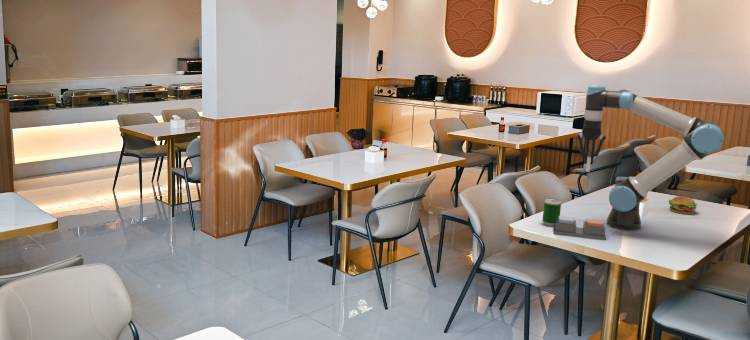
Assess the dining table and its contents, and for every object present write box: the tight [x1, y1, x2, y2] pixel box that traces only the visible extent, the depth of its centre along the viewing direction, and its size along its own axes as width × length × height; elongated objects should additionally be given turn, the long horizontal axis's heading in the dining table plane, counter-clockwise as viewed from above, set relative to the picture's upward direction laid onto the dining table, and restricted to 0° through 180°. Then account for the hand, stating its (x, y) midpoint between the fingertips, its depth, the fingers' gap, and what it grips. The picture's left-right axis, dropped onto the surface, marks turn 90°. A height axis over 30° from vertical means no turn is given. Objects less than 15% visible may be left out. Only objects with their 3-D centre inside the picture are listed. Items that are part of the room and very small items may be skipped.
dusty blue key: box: [558, 215, 575, 224], centre depth 296 cm, size 6×6×3 cm
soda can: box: [541, 197, 562, 227], centre depth 307 cm, size 8×8×12 cm
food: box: [668, 195, 698, 215], centre depth 346 cm, size 14×14×8 cm
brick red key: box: [585, 218, 603, 227], centre depth 293 cm, size 6×6×3 cm
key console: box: [552, 218, 607, 241], centre depth 295 cm, size 22×11×5 cm, turn 75°
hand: (587, 171), depth 304 cm, fingers closed
